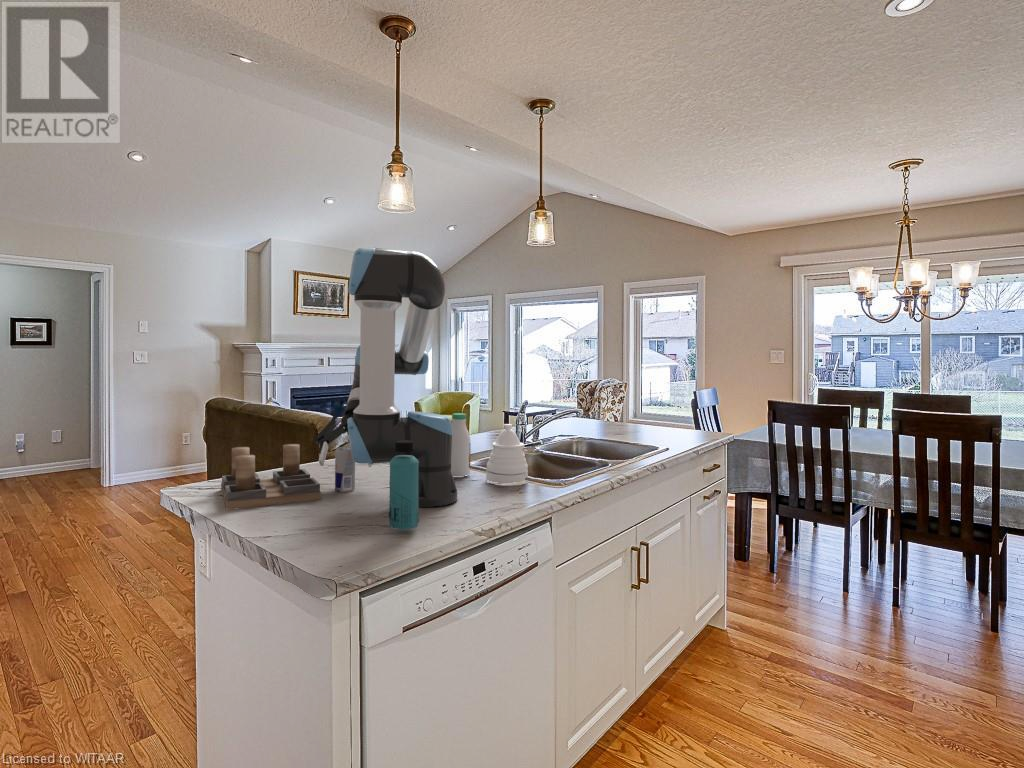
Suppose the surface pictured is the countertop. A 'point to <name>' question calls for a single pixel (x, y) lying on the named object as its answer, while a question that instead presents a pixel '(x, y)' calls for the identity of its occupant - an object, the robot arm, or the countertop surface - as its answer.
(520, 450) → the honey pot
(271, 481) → the pillar candle tray
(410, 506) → the beverage bottle
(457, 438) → the milk bottle
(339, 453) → the energy drink
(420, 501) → the robot arm
